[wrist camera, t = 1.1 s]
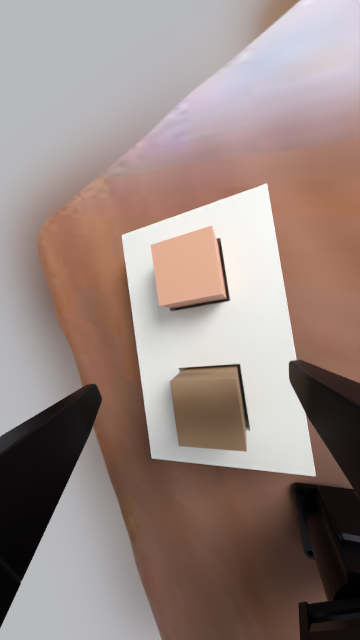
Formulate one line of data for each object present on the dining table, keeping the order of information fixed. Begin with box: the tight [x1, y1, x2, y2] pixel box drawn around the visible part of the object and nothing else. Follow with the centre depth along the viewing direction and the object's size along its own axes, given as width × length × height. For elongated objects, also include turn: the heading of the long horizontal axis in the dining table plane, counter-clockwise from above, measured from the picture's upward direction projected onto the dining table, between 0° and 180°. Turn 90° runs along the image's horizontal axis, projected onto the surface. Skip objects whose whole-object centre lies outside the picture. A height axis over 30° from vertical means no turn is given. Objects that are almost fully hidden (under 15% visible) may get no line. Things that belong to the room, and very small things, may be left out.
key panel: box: [122, 184, 316, 476], centre depth 18 cm, size 23×14×4 cm, turn 9°
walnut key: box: [170, 365, 247, 452], centre depth 15 cm, size 5×5×4 cm
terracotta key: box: [151, 226, 227, 308], centre depth 16 cm, size 5×5×4 cm
